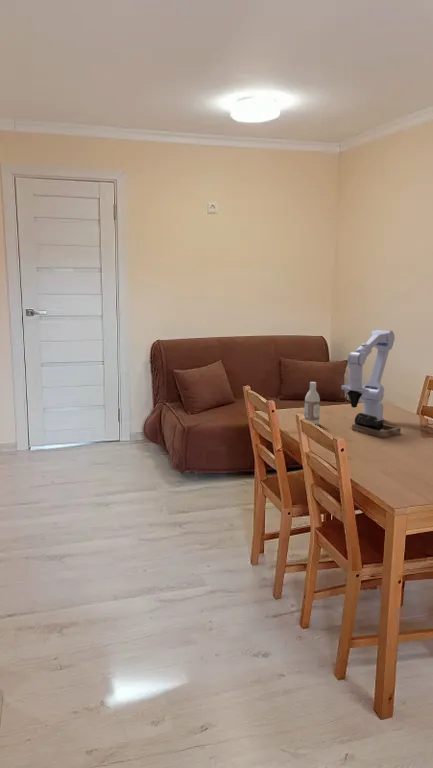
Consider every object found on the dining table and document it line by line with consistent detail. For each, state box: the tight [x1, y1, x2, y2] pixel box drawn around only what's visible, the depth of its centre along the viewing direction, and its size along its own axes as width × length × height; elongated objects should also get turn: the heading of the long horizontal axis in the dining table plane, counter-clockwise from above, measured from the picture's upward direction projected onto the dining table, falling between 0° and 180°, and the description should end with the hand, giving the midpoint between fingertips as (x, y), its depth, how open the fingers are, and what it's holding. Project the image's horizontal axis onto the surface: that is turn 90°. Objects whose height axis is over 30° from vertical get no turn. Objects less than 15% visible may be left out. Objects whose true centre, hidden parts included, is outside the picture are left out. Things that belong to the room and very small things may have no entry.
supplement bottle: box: [354, 412, 384, 431], centre depth 264 cm, size 7×7×12 cm
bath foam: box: [303, 381, 321, 426], centre depth 273 cm, size 7×7×20 cm
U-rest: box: [351, 423, 401, 439], centre depth 262 cm, size 13×16×2 cm
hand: (354, 407), depth 271 cm, fingers closed
